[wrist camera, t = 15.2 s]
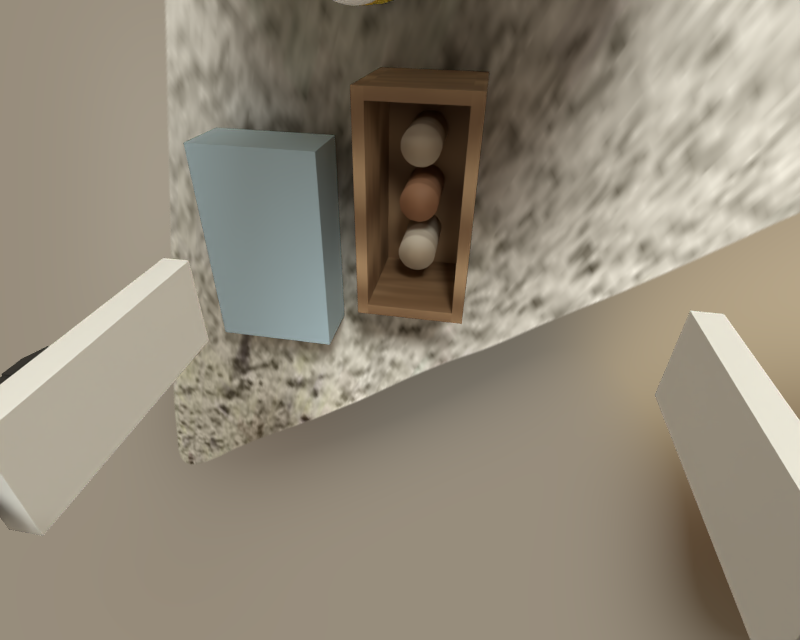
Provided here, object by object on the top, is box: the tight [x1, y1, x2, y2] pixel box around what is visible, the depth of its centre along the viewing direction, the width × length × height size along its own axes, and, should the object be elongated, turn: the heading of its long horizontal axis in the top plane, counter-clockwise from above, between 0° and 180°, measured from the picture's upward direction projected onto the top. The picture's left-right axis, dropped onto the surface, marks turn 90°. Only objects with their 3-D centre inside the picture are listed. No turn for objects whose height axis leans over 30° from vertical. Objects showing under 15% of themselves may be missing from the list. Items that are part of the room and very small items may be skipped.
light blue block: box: [184, 128, 344, 345], centre depth 42 cm, size 17×10×6 cm, turn 179°
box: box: [350, 67, 489, 324], centre depth 36 cm, size 16×8×9 cm, turn 179°
